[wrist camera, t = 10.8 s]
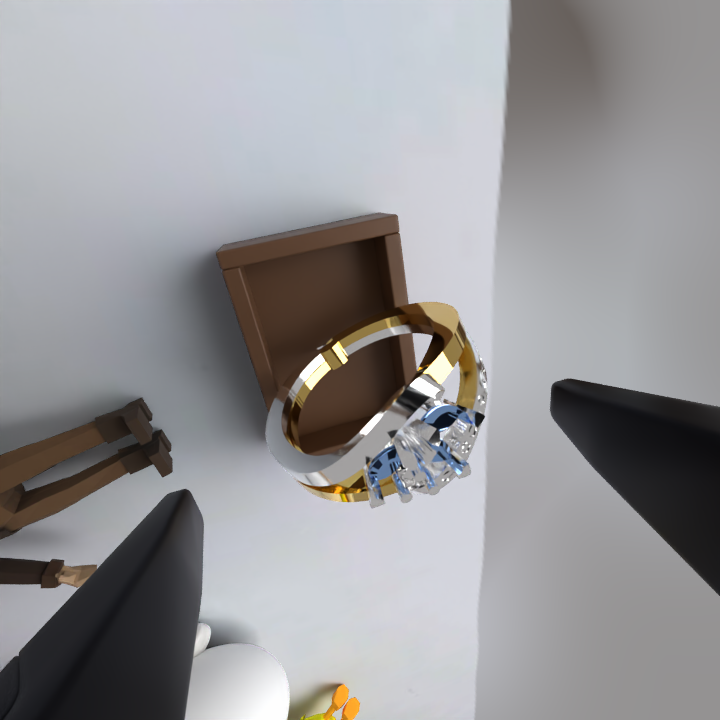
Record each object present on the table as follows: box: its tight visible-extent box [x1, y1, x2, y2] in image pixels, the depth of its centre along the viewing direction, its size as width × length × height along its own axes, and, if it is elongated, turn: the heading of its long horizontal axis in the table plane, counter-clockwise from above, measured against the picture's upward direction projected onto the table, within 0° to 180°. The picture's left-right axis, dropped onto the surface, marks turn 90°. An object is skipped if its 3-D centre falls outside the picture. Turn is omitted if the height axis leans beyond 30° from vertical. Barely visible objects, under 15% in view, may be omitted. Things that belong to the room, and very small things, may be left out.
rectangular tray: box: [216, 213, 417, 456], centre depth 15 cm, size 9×6×2 cm
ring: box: [265, 302, 488, 508], centre depth 12 cm, size 7×3×8 cm, turn 119°
